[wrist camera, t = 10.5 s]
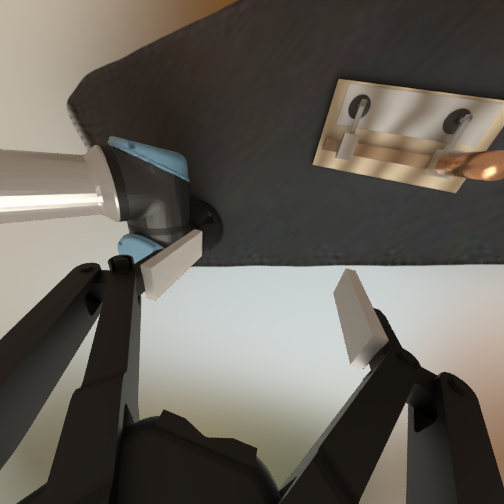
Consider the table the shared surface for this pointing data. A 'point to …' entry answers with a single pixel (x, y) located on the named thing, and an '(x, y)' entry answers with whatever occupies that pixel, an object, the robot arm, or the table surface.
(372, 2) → the table surface
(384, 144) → the holed mounting plate
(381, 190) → the table surface
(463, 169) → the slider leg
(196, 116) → the table surface
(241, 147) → the table surface
